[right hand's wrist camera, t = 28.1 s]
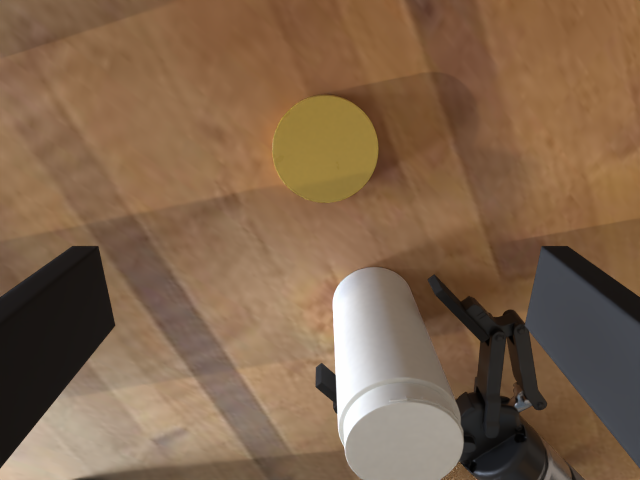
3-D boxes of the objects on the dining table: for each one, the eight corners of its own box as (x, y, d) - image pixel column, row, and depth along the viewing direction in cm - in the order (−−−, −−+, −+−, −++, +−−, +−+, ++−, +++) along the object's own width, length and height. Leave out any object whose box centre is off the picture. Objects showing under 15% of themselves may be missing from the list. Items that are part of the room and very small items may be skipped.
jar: (415, 330, 45) (471, 487, 28) (338, 340, 45) (348, 500, 28) (409, 261, 42) (467, 389, 25) (327, 272, 42) (330, 405, 25)
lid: (258, 118, 37) (254, 121, 35) (355, 77, 36) (357, 77, 34) (298, 210, 40) (296, 217, 38) (389, 175, 39) (392, 181, 37)
